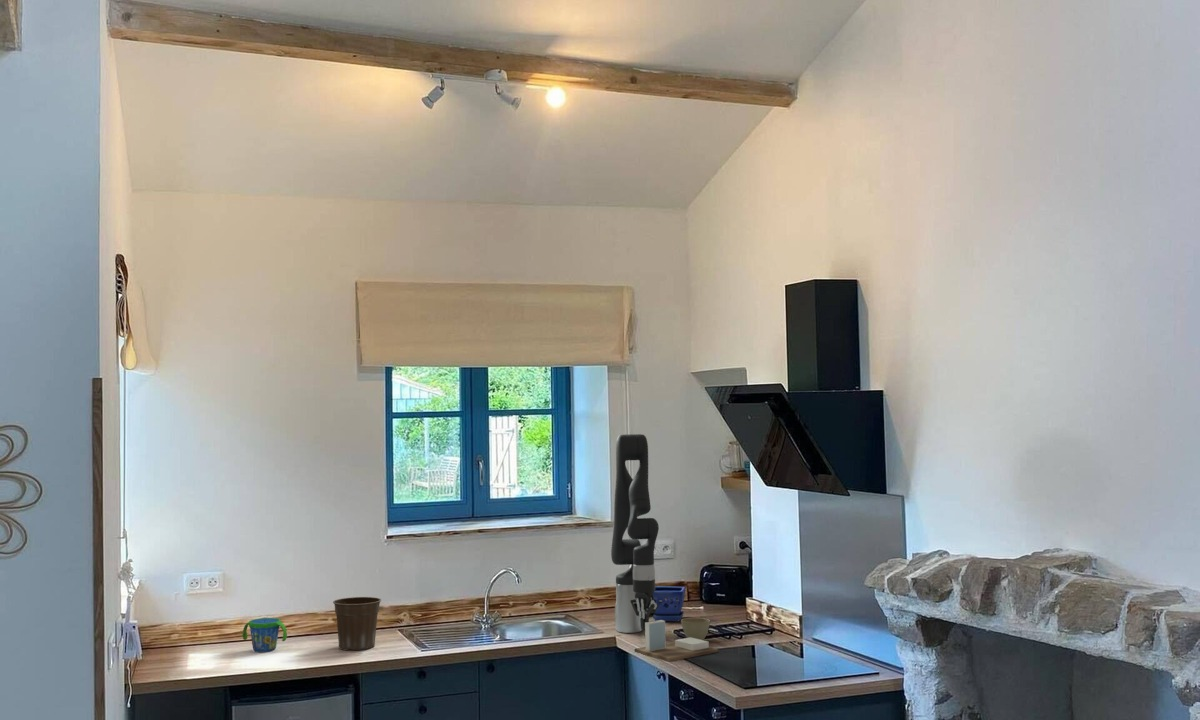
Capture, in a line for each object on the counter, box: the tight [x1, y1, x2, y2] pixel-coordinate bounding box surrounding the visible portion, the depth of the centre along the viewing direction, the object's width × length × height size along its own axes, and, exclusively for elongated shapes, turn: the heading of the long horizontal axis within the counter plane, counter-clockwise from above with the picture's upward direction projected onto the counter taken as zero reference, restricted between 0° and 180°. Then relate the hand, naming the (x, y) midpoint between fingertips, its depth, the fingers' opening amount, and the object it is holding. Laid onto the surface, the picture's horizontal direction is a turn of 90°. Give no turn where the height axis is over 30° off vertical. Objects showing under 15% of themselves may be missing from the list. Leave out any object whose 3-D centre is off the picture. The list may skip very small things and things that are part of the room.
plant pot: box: [332, 596, 382, 651], centre depth 362 cm, size 16×16×16 cm
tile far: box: [674, 637, 710, 651], centre depth 348 cm, size 2×7×9 cm
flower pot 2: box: [680, 617, 711, 641], centre depth 363 cm, size 10×10×7 cm
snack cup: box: [242, 617, 288, 653], centre depth 359 cm, size 16×10×10 cm
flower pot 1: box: [652, 585, 686, 622], centre depth 404 cm, size 13×13×12 cm
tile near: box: [644, 620, 667, 651], centre depth 346 cm, size 2×7×9 cm, turn 126°
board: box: [634, 641, 719, 662], centre depth 346 cm, size 18×21×1 cm
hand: (644, 629), depth 351 cm, fingers closed
